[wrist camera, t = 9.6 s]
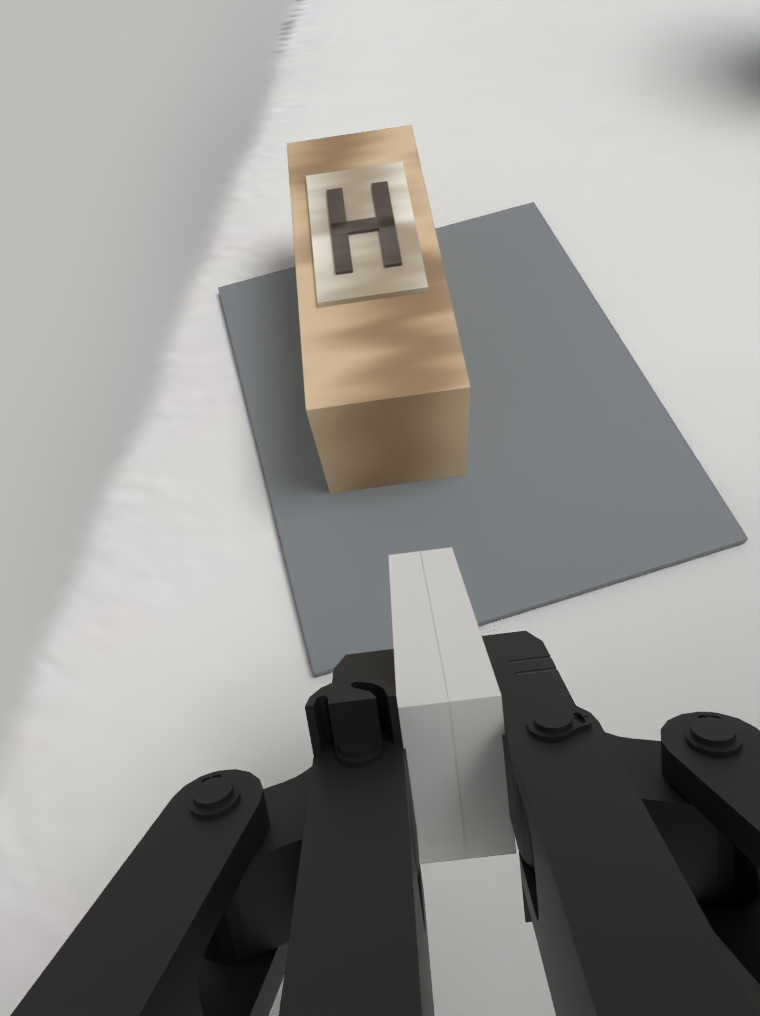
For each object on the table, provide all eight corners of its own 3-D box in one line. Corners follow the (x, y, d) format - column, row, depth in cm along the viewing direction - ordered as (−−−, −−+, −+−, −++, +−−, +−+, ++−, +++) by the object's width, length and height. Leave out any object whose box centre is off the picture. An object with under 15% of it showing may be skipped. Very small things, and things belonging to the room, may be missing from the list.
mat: (532, 208, 39) (533, 202, 38) (744, 543, 28) (747, 538, 28) (220, 293, 38) (218, 287, 37) (315, 677, 27) (313, 674, 26)
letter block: (466, 474, 30) (416, 230, 38) (470, 379, 25) (411, 116, 32) (330, 493, 30) (308, 246, 38) (303, 403, 25) (285, 135, 33)
